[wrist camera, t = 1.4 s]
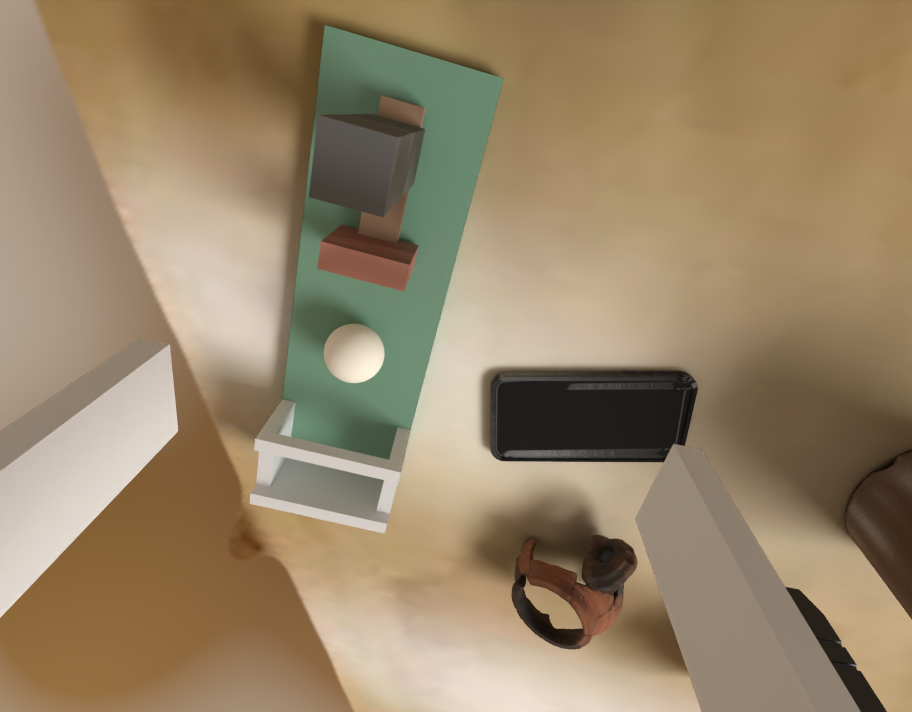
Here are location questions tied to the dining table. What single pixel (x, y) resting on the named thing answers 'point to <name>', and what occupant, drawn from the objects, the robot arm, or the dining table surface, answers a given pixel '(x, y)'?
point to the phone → (590, 415)
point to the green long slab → (372, 292)
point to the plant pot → (886, 525)
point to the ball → (354, 353)
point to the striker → (369, 189)
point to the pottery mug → (576, 590)
